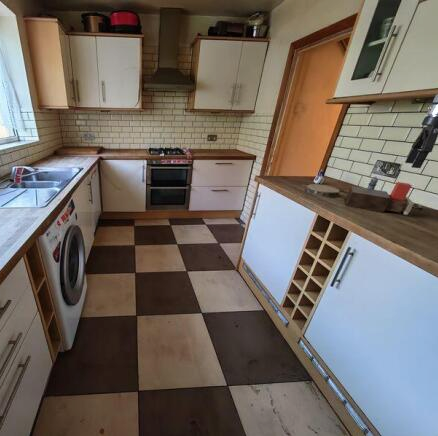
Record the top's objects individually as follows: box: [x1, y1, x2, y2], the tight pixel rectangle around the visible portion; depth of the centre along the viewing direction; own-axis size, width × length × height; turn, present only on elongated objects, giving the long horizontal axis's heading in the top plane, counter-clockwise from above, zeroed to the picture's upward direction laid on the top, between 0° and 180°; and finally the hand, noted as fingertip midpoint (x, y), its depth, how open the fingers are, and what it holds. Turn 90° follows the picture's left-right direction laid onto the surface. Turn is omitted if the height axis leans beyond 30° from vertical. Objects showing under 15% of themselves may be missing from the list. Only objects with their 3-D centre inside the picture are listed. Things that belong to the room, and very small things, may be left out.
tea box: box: [389, 181, 412, 202], centre depth 113 cm, size 4×4×12 cm
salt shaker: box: [366, 176, 379, 190], centre depth 133 cm, size 6×6×12 cm
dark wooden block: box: [345, 185, 391, 213], centre depth 120 cm, size 15×14×8 cm
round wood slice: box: [306, 183, 340, 198], centre depth 138 cm, size 16×16×3 cm
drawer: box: [385, 194, 424, 216], centre depth 114 cm, size 18×12×6 cm
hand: (412, 165), depth 107 cm, fingers open, 13 cm apart
